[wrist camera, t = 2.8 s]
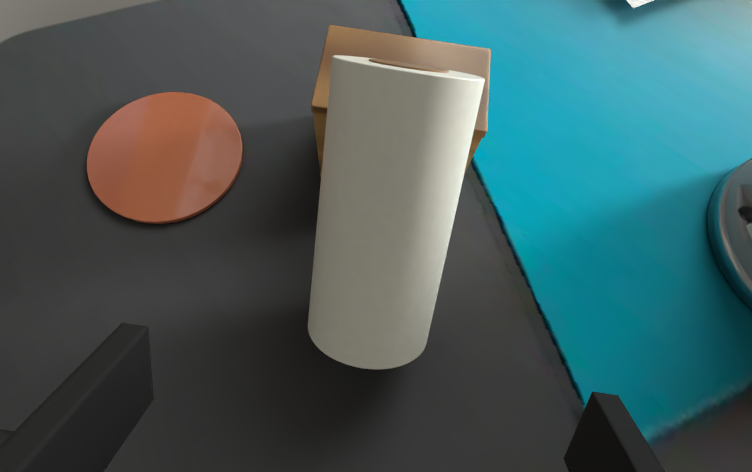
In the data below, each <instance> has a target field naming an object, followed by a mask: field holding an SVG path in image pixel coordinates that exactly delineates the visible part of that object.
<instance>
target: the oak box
mask: <svg viewBox="0 0 752 472" xmlns="http://www.w3.org/2000/svg"><path fill="white" fill-rule="evenodd" d="M335 55H343V56H355V57H365V58H373V59H382V60H390V61H398V62H405V63H412V64H418V65H424V66H430V67H435V68H441V69H446V70H452V71H457V72H462V73H467V74H472V75H476V76H479V77H482V78H484V79H485V82H484V87H483V91H482V96H481V100H480V105H479V109H478V114H477V118H476V123H475V127H474V132H473V136H472V141H471V145H470V150H469V154H468V159H467V163H466V168H465V171H466V169H467V167H468V165H469V163H470V161H471V159H472V157H473V155H474V153H475V151H476V149H477V147H478V145H479V143H480V141H481V139H482V138H484V136H485V134H486V132H487V120H488V99H489V79H490V58H491V49H487V48H481V47H474V46H467V45H461V44H454V43H447V42H440V41H434V40H427V39H420V38H414V37H407V36H400V35H394V34H387V33H380V32H374V31H367V30H360V29H353V28H347V27H340V26H333V25H329V27H328V32H327V36H326V40H325V45H324V49H323V54H322V58H321V63H320V67H319V71H318V76H317V80H316V85H315V89H314V94H313V98H312V102H311V111H312V113H313V115H314V124H315V133H316V142H317V151H318V160H319V168H320V177H321V173H322V162H323V151H324V140H325V129H326V118H327V107H328V96H329V85H330V74H331V63H332V56H335ZM464 173H465V172H464Z"/></svg>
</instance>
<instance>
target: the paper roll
mask: <svg viewBox="0 0 752 472" xmlns="http://www.w3.org/2000/svg"><path fill="white" fill-rule="evenodd" d="M484 82H485V79H484V78H482V77H479V76H476V75H472V74H467V73H462V72H457V71H452V70H446V69H441V68H435V67H430V66H424V65H418V64H412V63H405V62H398V61H390V60H382V59H373V58H365V57H355V56H343V55H335V56H332V63H331V74H330V85H329V96H328V107H327V118H326V129H325V140H324V151H323V162H322V173H321V184H320V195H319V206H318V218H317V229H316V240H315V251H314V262H313V273H312V284H311V295H310V306H309V317H308V331H309V335H310V337H311V339H312V341H313V342H314V344H315V345H316V346H317V347H318V348H319V349H320V350H321V351H322V352H323V353H325V354H326V355H328V356H329V357H331V358H333V359H335V360H337V361H339V362H341V363H344V364H347V365H350V366H354V367H358V368H364V369H390V368H395V367H399V366H402V365H405V364H407V363H410V362H411V361H413V360H415V359H416V358H417V357H418V356H419V355H420V354H421V353H422V352H423V351H424V349H425V347H426V343H427V339H428V334H429V330H430V325H431V321H432V316H433V312H434V307H435V303H436V298H437V294H438V289H439V285H440V280H441V276H442V271H443V267H444V262H445V258H446V253H447V249H448V244H449V240H450V235H451V231H452V226H453V222H454V217H455V213H456V208H457V204H458V199H459V195H460V190H461V186H462V181H463V177H464V172H465V168H466V163H467V159H468V154H469V150H470V145H471V141H472V136H473V132H474V127H475V123H476V118H477V114H478V109H479V105H480V100H481V96H482V91H483V87H484Z"/></svg>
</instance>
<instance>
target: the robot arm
mask: <svg viewBox="0 0 752 472" xmlns="http://www.w3.org/2000/svg"><path fill="white" fill-rule="evenodd" d="M708 233H709V238H710V243H711V246H712V249H713V253H714V255H715V257H716V260H717V262H718V264H719V266H720V268H721V270H722V272H723V274H724V275H725V277H726V279H727V280H728V282H729V283H730V285H731V286H732V287H733V289H734V290H735V292H736V293H737V294H738V295H739V296H740V297H741V299H742V300H743V301H744V302H745V303H746V304H747V305H748V306H749V307H750V308H751V309H752V158H751V159H749V160H748V161H746V162H745V163H743V164H741V165H740V166H738V167H737V168H735V169H733V170H732V171H731V172H729V173H728V174H727V175H726V176H725V177H724V178H723V179H722V180H721V181H720V182H719V184H718V185H717V186H716V188H715V190H714V192H713V194H712V197H711V200H710V204H709V208H708ZM152 401H153V386H152V372H151V359H150V345H149V332H148V327H146V326H139V325H133V324H126V323H121V324H120V325H119V326H118V327H117V328H116V329H115V330H114V331H113V332H112V333H111V334H110V335H109V336H108V337H107V338H106V340H105V341H104V342H103V343H102V344H101V345H100V346H99V347H98V348H97V349H96V350H95V351H94V352H93V353H92V354H91V355H90V356H89V357H88V358H87V359H86V360H85V361H84V362H83V363H82V364H81V365H80V366H79V367H78V368H77V369H76V370H75V371H74V372H73V373H72V374H71V375H70V376H69V377H68V378H67V379H66V380H65V381H64V382H63V383H62V384H61V385H60V386H59V387H58V388H57V389H56V390H55V391H54V392H53V393H52V394H51V395H50V396H49V397H48V398H47V399H46V400H45V401H44V402H43V403H42V404H41V405H40V406H39V407H38V408H37V409H36V410H35V411H34V412H33V413H32V414H31V415H30V416H29V417H28V418H27V419H26V420H25V421H24V422H23V423H22V424H21V425H20V426H19V427H18V428H17V429H16V430H15V431H7V430H0V472H103V471H104V470H105V469H106V467H107V466H108V464H109V463H110V461H111V460H112V458H113V457H114V456H115V454H116V453H117V451H118V450H119V448H120V447H121V445H122V444H123V443H124V441H125V440H126V438H127V437H128V435H129V434H130V432H131V431H132V430H133V428H134V427H135V425H136V424H137V422H138V421H139V419H140V418H141V417H142V415H143V414H144V412H145V411H146V409H147V408H148V406H149V405H150V404H151V402H152ZM564 460H565V463H566V465H567V468H568V471H569V472H665V471H664V469H663V467H662V466H661V464H660V463H659V461H658V459H657V458H656V456H655V455H654V453H653V451H652V450H651V448H650V446H649V445H648V443H647V442H646V440H645V438H644V437H643V435H642V434H641V432H640V430H639V429H638V427H637V425H636V424H635V422H634V421H633V419H632V417H631V416H630V414H629V412H628V411H627V409H626V408H625V406H624V404H623V403H622V401H621V400H620V398H619V396H618V395H612V394H605V393H598V392H592V393H591V396H590V398H589V400H588V403H587V405H586V407H585V410H584V412H583V414H582V417H581V419H580V422H579V424H578V426H577V429H576V431H575V433H574V436H573V438H572V440H571V443H570V445H569V447H568V450H567V452H566V454H565V457H564Z"/></svg>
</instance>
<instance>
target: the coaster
mask: <svg viewBox="0 0 752 472" xmlns="http://www.w3.org/2000/svg"><path fill="white" fill-rule="evenodd" d="M242 159H243V144H242V138H241V135H240V132H239V129H238V127H237V125H236V124H235V122H234V120H233V119H232V118H231V116H230V115H229V114H228V113H227V112H226V111H225V110H224V109H223V108H221V107H220V106H219V105H218V104H216V103H214V102H212V101H211V100H209V99H206V98H204V97H201V96H198V95H194V94H189V93H181V92H167V93H159V94H154V95H150V96H146V97H143V98H140V99H138V100H135V101H133V102H131V103H129V104H127V105H126V106H124V107H122V108H121V109H119V110H118V111H117V112H115V113H114V114H113V115H111V116H110V117H109V118H108V119H107V120H106V121H105V122H104V124H103V125H102V126H101V127H100V128H99V130H98V132H97V133H96V135H95V136H94V138H93V140H92V143H91V145H90V148H89V152H88V157H87V174H88V179H89V182H90V185H91V187H92V189H93V191H94V193H95V194H96V196H97V197H98V198H99V199H100V201H101V202H102V203H103V204H105V205H106V206H107V207H108V208H109V209H110V210H112V211H113V212H115V213H116V214H118V215H120V216H122V217H124V218H126V219H129V220H133V221H136V222H141V223H147V224H164V223H172V222H178V221H181V220H185V219H188V218H191V217H193V216H195V215H198V214H200V213H202V212H203V211H205V210H207V209H208V208H210V207H211V206H213V205H214V204H215V203H217V202H218V201H219V200H220V199H221V198H222V197H223V196H224V195H225V194H226V193H227V191H228V190H229V189H230V188H231V186H232V185H233V183H234V182H235V180H236V178H237V176H238V174H239V171H240V168H241V165H242Z"/></svg>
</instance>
